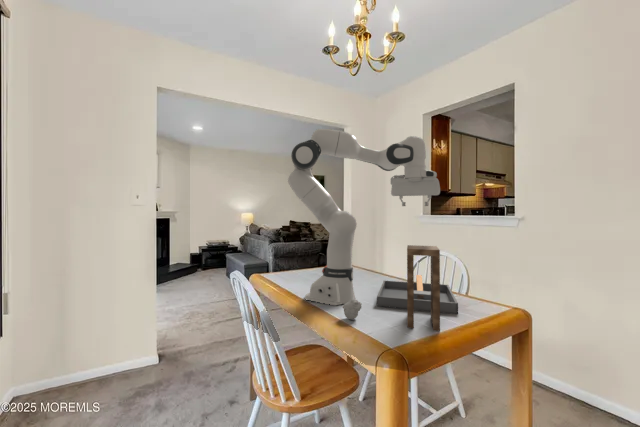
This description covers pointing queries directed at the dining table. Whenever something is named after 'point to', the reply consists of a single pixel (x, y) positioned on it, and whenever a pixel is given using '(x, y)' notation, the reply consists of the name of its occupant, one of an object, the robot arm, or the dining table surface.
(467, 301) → the dining table surface
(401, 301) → the tray
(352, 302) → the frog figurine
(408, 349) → the dining table surface
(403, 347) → the dining table surface
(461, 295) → the dining table surface
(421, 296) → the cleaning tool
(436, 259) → the frame
